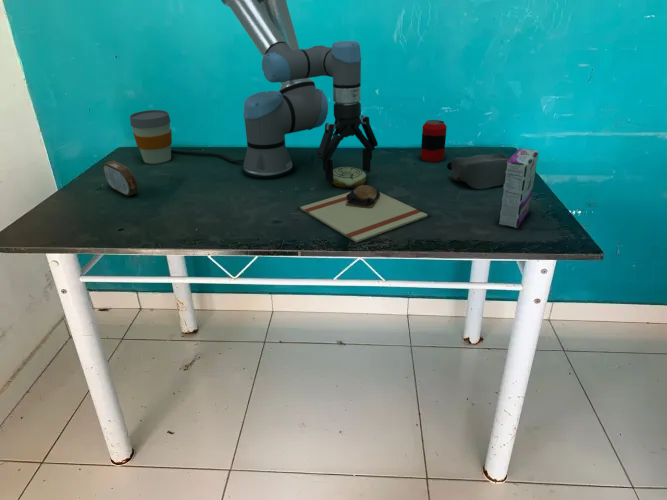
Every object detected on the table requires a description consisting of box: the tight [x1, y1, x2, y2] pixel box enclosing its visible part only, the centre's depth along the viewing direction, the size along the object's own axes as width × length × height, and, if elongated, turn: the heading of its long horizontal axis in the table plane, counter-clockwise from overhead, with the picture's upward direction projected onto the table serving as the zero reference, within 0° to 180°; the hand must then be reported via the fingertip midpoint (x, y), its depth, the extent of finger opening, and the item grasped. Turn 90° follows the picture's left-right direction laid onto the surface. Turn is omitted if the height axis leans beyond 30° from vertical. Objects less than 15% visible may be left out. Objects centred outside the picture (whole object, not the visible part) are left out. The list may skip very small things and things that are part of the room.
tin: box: [102, 159, 139, 197], centre depth 149 cm, size 15×3×8 cm, turn 47°
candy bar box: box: [498, 148, 540, 229], centre depth 127 cm, size 11×5×16 cm, turn 148°
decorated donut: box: [332, 166, 367, 189], centre depth 153 cm, size 10×11×4 cm
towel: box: [299, 191, 428, 244], centre depth 135 cm, size 24×23×1 cm
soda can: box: [420, 119, 448, 163], centre depth 169 cm, size 8×8×12 cm
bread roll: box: [346, 184, 381, 208], centre depth 141 cm, size 11×8×4 cm
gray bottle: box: [446, 153, 511, 190], centre depth 151 cm, size 18×11×8 cm, turn 104°
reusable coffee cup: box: [129, 109, 173, 165], centre depth 172 cm, size 13×13×15 cm
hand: (348, 176), depth 152 cm, fingers open, 13 cm apart
